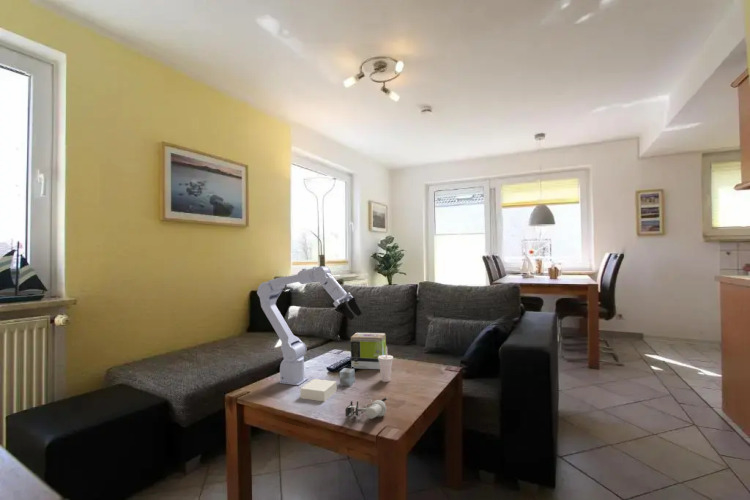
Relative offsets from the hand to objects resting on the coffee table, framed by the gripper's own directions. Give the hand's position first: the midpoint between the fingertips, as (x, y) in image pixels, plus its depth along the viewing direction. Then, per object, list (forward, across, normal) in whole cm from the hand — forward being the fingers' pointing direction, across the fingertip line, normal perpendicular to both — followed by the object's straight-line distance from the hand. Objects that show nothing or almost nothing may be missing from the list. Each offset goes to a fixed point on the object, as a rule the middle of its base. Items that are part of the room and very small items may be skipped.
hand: (356, 316), depth 138 cm
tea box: (+18, +26, +23) cm, 39 cm away
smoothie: (+27, +11, +13) cm, 32 cm away
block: (+17, +3, +24) cm, 29 cm away
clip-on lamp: (+29, -19, +10) cm, 36 cm away
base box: (+13, -10, +28) cm, 33 cm away
